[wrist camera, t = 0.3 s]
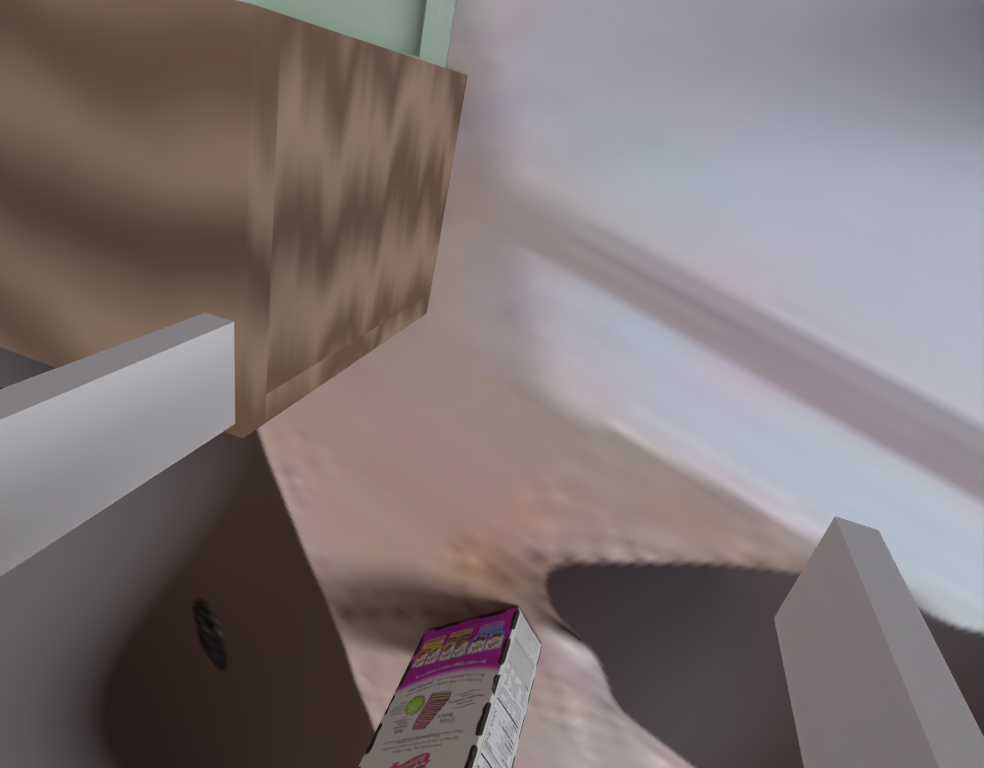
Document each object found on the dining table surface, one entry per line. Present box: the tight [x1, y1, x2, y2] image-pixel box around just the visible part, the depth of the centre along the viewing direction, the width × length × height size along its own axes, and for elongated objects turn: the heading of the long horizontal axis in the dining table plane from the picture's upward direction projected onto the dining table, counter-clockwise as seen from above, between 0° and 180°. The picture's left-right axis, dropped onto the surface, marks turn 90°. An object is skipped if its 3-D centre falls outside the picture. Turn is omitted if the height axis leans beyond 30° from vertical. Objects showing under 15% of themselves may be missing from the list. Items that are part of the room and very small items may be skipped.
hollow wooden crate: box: [0, 0, 467, 438], centre depth 31 cm, size 16×17×20 cm
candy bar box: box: [358, 607, 542, 768], centre depth 46 cm, size 11×5×16 cm, turn 121°
